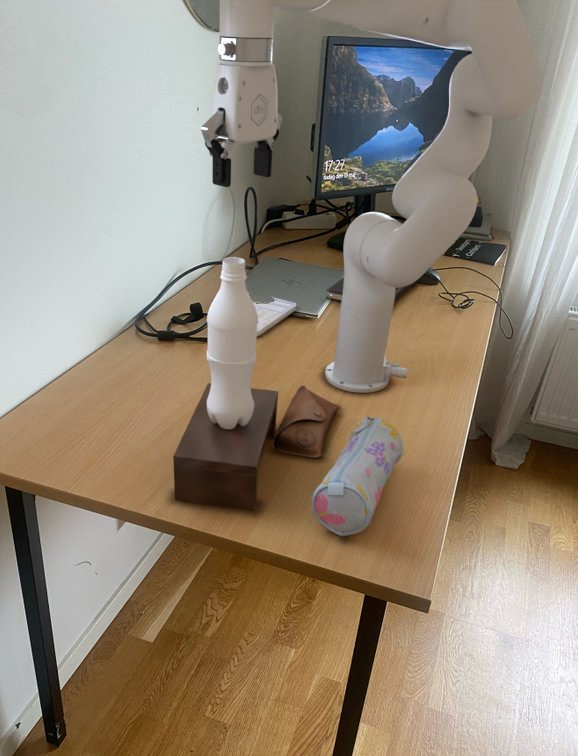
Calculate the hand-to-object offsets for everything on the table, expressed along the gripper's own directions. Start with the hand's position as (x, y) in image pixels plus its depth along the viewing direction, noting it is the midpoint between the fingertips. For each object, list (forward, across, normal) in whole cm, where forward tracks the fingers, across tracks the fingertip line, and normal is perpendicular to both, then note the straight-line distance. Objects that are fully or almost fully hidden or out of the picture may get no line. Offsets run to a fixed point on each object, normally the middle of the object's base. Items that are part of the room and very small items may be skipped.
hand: (242, 180), depth 103 cm
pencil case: (+38, -11, -34) cm, 52 cm away
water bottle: (+31, -18, -14) cm, 38 cm away
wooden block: (+38, -18, -14) cm, 44 cm away
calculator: (+38, +31, +21) cm, 54 cm away
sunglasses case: (+38, 0, -17) cm, 42 cm away
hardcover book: (+38, +65, +10) cm, 76 cm away
